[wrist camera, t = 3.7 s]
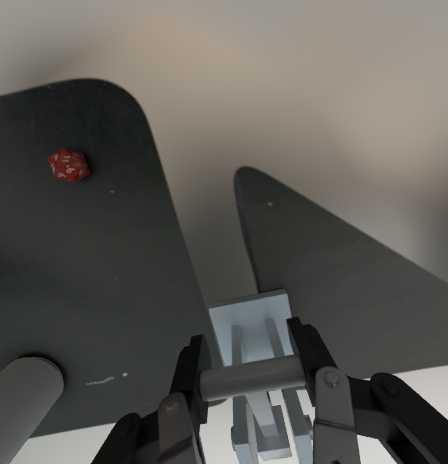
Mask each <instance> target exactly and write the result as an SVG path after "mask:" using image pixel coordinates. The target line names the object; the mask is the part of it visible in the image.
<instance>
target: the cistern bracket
mask: <svg viewBox="0 0 448 464" xmlns="http://www.w3.org/2000/svg"><path fill="white" fill-rule="evenodd" d="M209 313H210V316H211V320H212V323H213V326H214V330H215V333H216V337H217V340H218V343H219V347H220V350H221V354H222V357H223V361H224V364H225V366H229V365H235V364H240V363H246V362H252V361H258V360H263V359H269V358H275V357H280V356H286V355H292V354H294V353H293V351H292V347H291V344H290V339H289V334H288V329H287V324H286V319H288V318H292V317H291V311H290V306H289V300H288V295H287V292H286V290H285V288H283V289H278V290H273V291H268V292H263V293H258V294H254V295H249V296H243V297H238V298H233V299H228V300H223V301H218V302H213V303H210V304H209ZM281 390H282V394H283V398H284V402H285V406H286V410H287V415H288V418H289V422H290V427H291V431H292V435H293V439H294V443H295V447H296V451H297V455H298V460H299V464H313V450H312V445H311V440H313V426H312V423H311V420H310V417H309V415H303V411H302V408H301V405H300V402H299V399H298V395H297V392H296V389H295V387H291V388H285V389H281ZM231 440H232V446H233V450H234V451H236V454H237V457H238V460H239V463H240V464H259V463H258V454H257V444H256V434H255V427H254V420H253V412H252V410H251V408H250V405H249V403H248V401H247V399H246V397H245V395H243V396H236V397H233V427H232V428H231Z"/></svg>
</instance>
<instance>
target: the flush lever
mask: <svg viewBox="0 0 448 464" xmlns="http://www.w3.org/2000/svg"><path fill="white" fill-rule="evenodd" d="M303 385H307V381H306V376H305V372H304V369H303V365H302V362H301V359H300V357H299V355H298V354H292V355H286V356H280V357H275V358H269V359H263V360H258V361H252V362H246V363H240V364H235V365H229V366H223V367H218V368H212V369H206V370H202V371H201V373H200V393H201V397H202V400H203V401H204V402H206V401H212V400H218V399H224V398H230V397H236V396H243V395H245V397H246V399H247V401H248V403H249V405H250V408H251V410H252V412H253V420H254V427H255V434H256V442H257V449H258V453H259V455H260V456H261V458H262V460H263V461H266V460H273V459H280V458H287V457H292V454H291V449H290V444H289V440H288V435H287V431H286V427H285V422H284V418H283V413H282V409H281V405H277V406H272V403H271V400H270V396H269V393H268V391H273V390H279V389H285V388H291V387H297V386H303Z"/></svg>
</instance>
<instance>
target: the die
mask: <svg viewBox="0 0 448 464" xmlns="http://www.w3.org/2000/svg"><path fill="white" fill-rule="evenodd" d="M48 161H49V164H50V166H51V169H52V171H53V174H54V176H55V178H56V179H60V180H65V181H71V182H77V181H79V180H80V179H82V178H83V177H85V176H86V175H88V174H89V173H90V171H89V168H88V165H87V163H86V160H85V157H84V155H83V154H82V153H79V152H75V151H72V150H68V149H64V148H62V149H61V150H59V151H58V152H56V153H55V154H53V155H52V156H50V157H49V158H48Z"/></svg>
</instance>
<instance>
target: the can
mask: <svg viewBox="0 0 448 464" xmlns="http://www.w3.org/2000/svg"><path fill="white" fill-rule="evenodd" d="M63 388H64V383H63V378H62V373H61V371H60V370H59V368H58V367H57V366H56V365H55V364H54V363H52V362H51V361H49V360H47V359H44V358H41V357H30V358H27V357H25V358H20V359H16V360H15V361H13V362H11V363H10V364H9V365H8V366H7V367H5V368H4V369H3V370H2V371H1V372H0V464H9V463H10V462H11V461H12V460H13V458H14V457H15V455H16V454H17V453H18V451H19V450H20V449H21V447H22V446H23V445H24V443H25V442H26V441H27V439H28V438H29V437H30V435H31V434H32V433H33V431H34V430H35V429H36V427H37V426H38V425H39V423H40V422H41V420H42V419H43V418H44V416H45V415H46V414H47V412H48V411H49V410H50V408H51V407H52V406H53V404H54V403H55V402H56V400H57V399H58V398H59V396H60V395H61V394H62V392H63Z"/></svg>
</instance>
